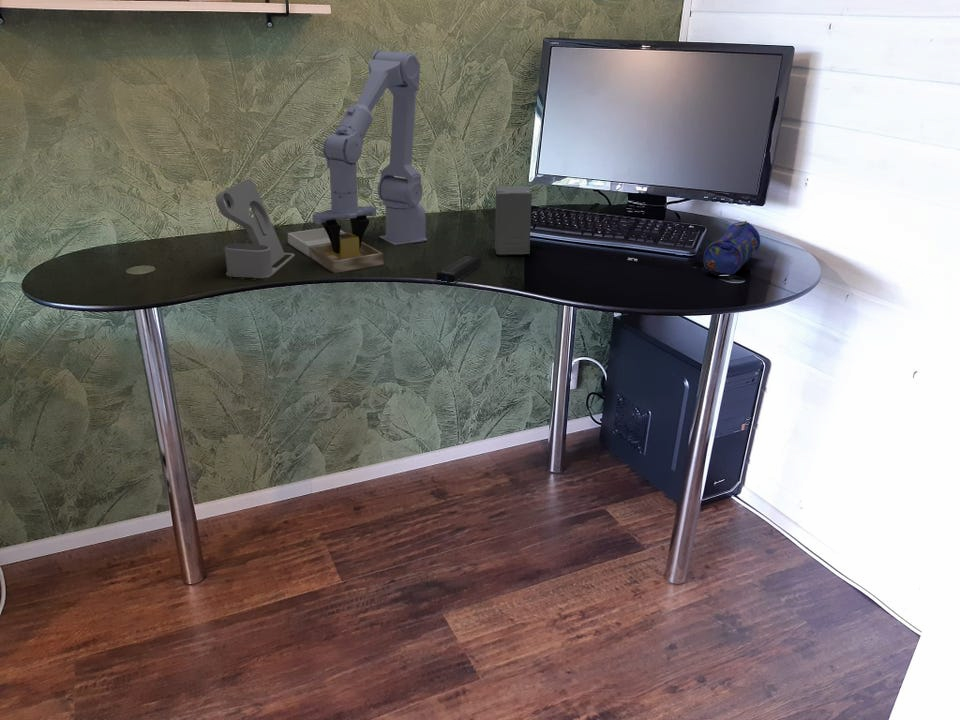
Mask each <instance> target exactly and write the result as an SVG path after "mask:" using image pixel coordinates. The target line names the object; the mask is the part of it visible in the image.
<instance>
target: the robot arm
mask: <svg viewBox="0 0 960 720" xmlns="http://www.w3.org/2000/svg"><path fill="white" fill-rule="evenodd" d="M420 63H421V62H419V60H418V58H417V56H416V55H415V54H414V52H413V53H412V52H399V51H398V52H397V51H385V50H381V49H379V50H378V49H377V50H375V51H374V52H373V53H372V55H371V58H370V60H369V61H368V64H367V65H368V73H369V74H368V77H367V79H366V81H365V84H364V87H363V89H362V91H361V93H360V94H359V95H360V96H359V98H358V100H357V103H356V104H352V105H349V106H348V108H347V110H346V111H345V113H344V115H343V117H342V119H341V120H340V123H339V125H338V126H337V128H336V130H335V132H334V133H333V132H332V134H329V135H328V136H327V137H326V138H325V140H324V142H323V147H322V154H323V156H324V157H323V158H325V160H326V167H327V168H328V169H329V183H330V199H331V200H330V201H331V209H328V210H323V211H321V212H320V211H318V212H316V213H312V222H313V223H314V224H316V225H320V224H321V226H322V228H324V229H325V230H326V232H327V234H328V237H329V239H330V242H331V245H332V249H333V252H335V253H336V254H339V253H340V241H339V239H340V230H341V229H342V226H341V225H340V224H338V222H337V221H343V220H344V221H345V220H349V221H350V226H351V233H352V234H354V235H356V236H358V237H359V250H360V247H361V242H363V238H364V235H365V233H366V230H367V228H368V226H369V225H370V219H369V218H367V217H376V216H377V208H376V207H375V206H373V205H369V206H366V205H365V206H359V205H358V204H359V203H358V202H359V200H358V180H357V179H358V178H357V174H358V173H357V162H358V161H359V160H360V159H361V158H362V157H361V156H362V153H363V145H364V138H365V135H366V133H367V132H368V131H369V128H370V127H371V124H372V123H373V116H372V111H373V109H374V108H375V107H376V106H377V103H379V101H380V99H381V97H382V96H383V95H384V93H385V91H386V90H387V89H388V90H389V92H390V93H391V94H392V96H393V98H392V113H391V114H392V116H391V136H390V154H389V164H387V166H385V167H384V168H382V170H381V171H380V179H379V182H378V184H377V194H378V198H379V199H380V200H381V201H382V205H384V206H385V235H379V238H381V239H382V240H384V241H386V242H388V243H389V244H392V245H393V246H397V245H402V244H408V243H411V244H414V243H415V244H416V243H421V242H427V241H428V239H427V237H426V230H427V229H426V225H427V224H426V223H427V222H426V211H425V208H424V206H423V205H422V204H421V203H420V202H421V200H422V198H423V186H422V175H421V173H420V172H419V171H418V170H417V169H416V168H415V167H414V166H413V163H412V162H413V151H414V149H413V148H414V137H415V135H414V133H415V121H416V120H415V117H416V105H417V103H416V102H417V92H418V91H419V90H420V89H419V88H420V87H419V85H420V73H421V72H420V71H421V64H420Z"/></svg>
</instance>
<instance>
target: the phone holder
mask: <svg viewBox="0 0 960 720" xmlns="http://www.w3.org/2000/svg"><path fill="white" fill-rule="evenodd" d="M215 202H216V206H217V208H218V210H219V212H220V214H221V215H222V216H223V217H225V218H227V219H228V220H230V221H232V222H233V223H235V224H237V225H239V226H241V227H242V228H244V229H245V230H246V233H247V235H248V237H249V239H250V241H251V243H241V242H238V243H237V242H236V243H235V242H233V243H229V244H226V245H225V246H224V254H225V256H224V257H225V264H226V272H225V275H227V276H233V277H253V278H266V279H267V278H270V277H271V276H273V275H274V274H275V273H277V272H278V271H279V270H280V269H281V268H283V266H285V265H286V264H287V263H288V262H289V261H291V260H292V259H293V258H294V257H295V255H296V254H295V253H290V252H284V249H283V247H282V244H281V241H280V240H279V237H278V235H277V233H276V230H275V227H274V226H273V223H272V221H271V219H270V216H269V213H268V211H267V210H266V206H265V204H264V202H263V200H262V198H261V195H260V193H259V191H258V188H257V186H256V184H255V182H254V181H253V180H252V179H244V180H241V181H240V182H237V183H236V184H234V185H231V186H230V187H228V188H226V189H223V190H222V191H221V192H219V193H217V194H216V196H215ZM249 208H250V209H251V211H252V214H253V215H250V209H249ZM285 256H289V257H287V258H286V259H285V260H284V261H283V262H282V263H280V264H279V265H278V266H276V267H273V266H274V265H275V264H276V263H278V261H280V260H281V259H282V258H284V257H285ZM227 276H226V277H227Z"/></svg>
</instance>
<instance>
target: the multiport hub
mask: <svg viewBox="0 0 960 720" xmlns="http://www.w3.org/2000/svg"><path fill="white" fill-rule="evenodd" d="M480 265H481V266H482V257H479V256H473V255H469V254H468V255H467V254H465V255H462V256H461V257H459V258H457V259H456V260H454V261H453V262H451V263H449V264H448V265H446V266H444V267H443V268H441V269H439V270H438V271H437V272H436V278H435V279H437V280H441V279H442V280H441V281H447V282H454V281H456V280H457V279H459V278H461V277H462V276H464V275H466V274H467V273H469V272H471V271H473V270H474V269H476V268H477V267H479V266H480ZM479 268H480V267H479ZM476 270H477V269H476ZM473 272H474V271H473ZM437 280H436V281H437Z"/></svg>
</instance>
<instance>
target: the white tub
mask: <svg viewBox="0 0 960 720" xmlns="http://www.w3.org/2000/svg"><path fill="white" fill-rule="evenodd" d="M342 233H346V232H345V231H343V230H341V229H340V234H342ZM287 244H288V245H290V246H291V247H293V248H295V249H297V250H298V251H299V252H301V253H303V254H304V255H305V256H308V258H311V253H310V247H315V246H321V245H327V244H331V242H330V239H329V237H328V234H327V232H326V230H325V229H324V227H321V228H312V229H306V230H300V231H293V232H287Z"/></svg>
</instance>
